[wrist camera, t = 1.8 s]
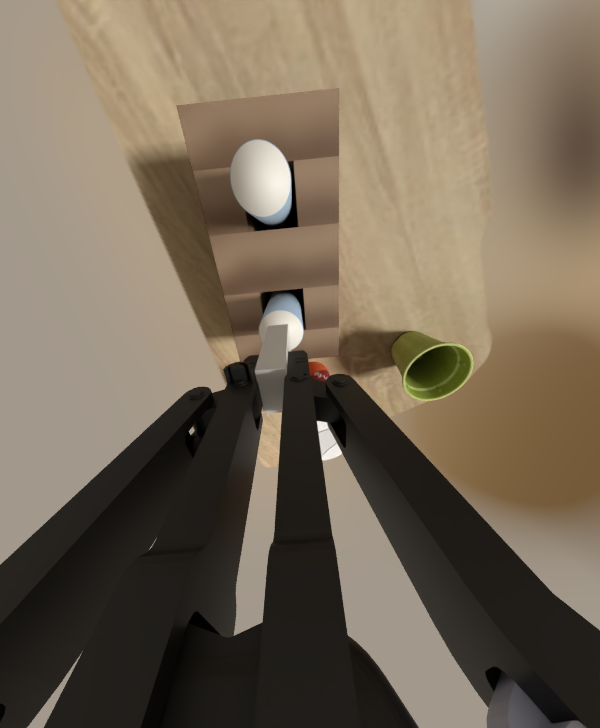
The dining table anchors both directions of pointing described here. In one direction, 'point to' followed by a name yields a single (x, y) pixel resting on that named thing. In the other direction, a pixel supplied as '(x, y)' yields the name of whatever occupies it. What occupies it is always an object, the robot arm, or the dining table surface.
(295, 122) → the collar block
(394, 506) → the robot arm
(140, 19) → the dining table surface
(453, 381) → the plant pot
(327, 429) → the coffee cup
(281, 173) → the peg
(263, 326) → the peg
